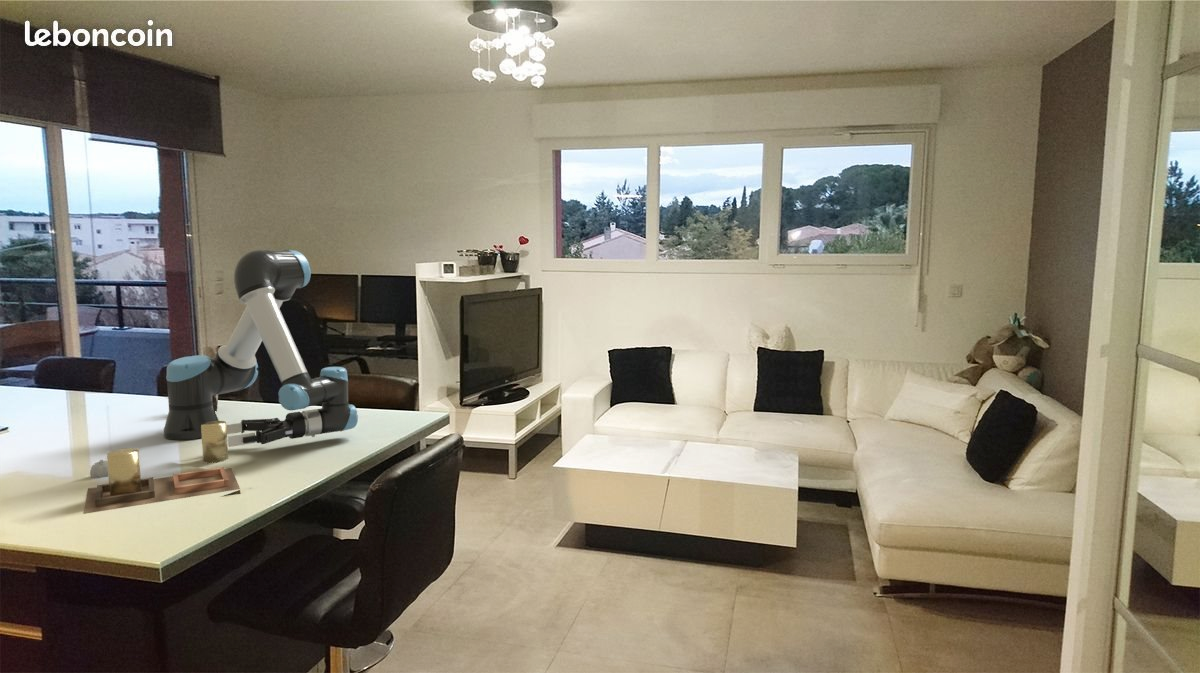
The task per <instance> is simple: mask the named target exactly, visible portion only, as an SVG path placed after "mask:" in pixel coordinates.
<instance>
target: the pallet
mask: <svg viewBox="0 0 1200 673" xmlns="http://www.w3.org/2000/svg"><path fill="white" fill-rule="evenodd" d="M141 490H142V492H136V493H129V494H123V495H116V496H110V488H109V483H105V484H103V483H102V484H97V485H96V486H95V487H89V488H87V491H86V497H85V504H84V507H83V515H84V514H92V513H99V512H103V511H110V510H117V509H123V508H130V507H134V506H142V505H148V504H154V503H160V502H166V501H173V500H178V499H179V500H180V499H185V498H193V497H198V496H204V495H212V494H216V493H217V494H218V493H223V492H230V493H227V494H224V495H221V496H220V497H228V496H234V495H240V494H241V488H240V485H239V483H238V480H237V478H236V476H235V473H234V471H233V469H232V467H228V468H225V467H224V466H223V467H216V468H209V469H201V470H196V471H195V470H194V471H188V472H182V473H175V474H172V476H165V477H160V478H154V476H152V477H145V478H141ZM235 490H236V491H235ZM231 491H232V492H231Z"/></svg>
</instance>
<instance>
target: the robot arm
mask: <svg viewBox="0 0 1200 673" xmlns="http://www.w3.org/2000/svg"><path fill="white" fill-rule="evenodd" d="M311 271H312V269H311V268H310V263H309V260H308V259H307V258H306V256H305V255H304V254H303V253H301V252H299V251H298V250H293V249H292V250H291V249H287V248H286V249H281V250H280V249H278V250H277V249H275V250H274V249H266V250H265V249H254V250H251V251H248V252H246V253H245V254H244V255H242V256H241V257H240V259H239V260H238V261H237V262H236V265H235V268H234V272H233V273H234V274H233V283H234V289H235V291H236V294H237V296H238V299H239V302H241V303H242V304H245V305H246V307H245V309H244V310H243V313H242V315H241V316H240V319H239V320H238V322H237V324H236V325H235V328H234V330H233V332H232V334H231V336H230V338H229V340H228V341H227V343H226V344H223V345H221V346H220V347H219V348H218V350H217V352H216V354H215V356H213V357H212V358H211V357H209V356H208V355H202V354H200V355H199V354H198V355H197V354H196V355H192V356H184V357H183V356H182V357H179V358H177V359H174V360H172V361H171V362H168V364H167V366H166V376H165V379H166V383H167V384H166V385H167V397H168V398H167V400H168V414H167V417H166V421H165V423H164V427H163V437H164V438H165V439H168V440H174V441H176V440H177V441H183V440H184V441H185V440H196V439H202V433H201V424H203V423H206V422H211V421H220V420H219V418H218V416H217V414H216V412H215V411H214V409H213V402H212V396H213V395H218V396H219V395H222V394H223V395H224V394H229V393H231V392H238V391H242V390H244V389H247V388H248V387H251V386H252V385H253V384H254V383H255V381H256V380H257V378H258V375H259V370H258V368H259V365H258V362H257V358H256V357H257V356H256V353H257V351H258V349H259V347H260V346H261V344H262V343H263V345H264V347H265V350H266V352H267V354H268V356H269V358H270V360H271V362H272V366H273V368H274V370H275V371H276V374H277V375H278V376H277V377H278V378H279V380H280V383H281V385H282V386H281V387H280V388H279V390H278V393H277V394H278V402H279V404H280V406H281V407H282V408H284V409H285V410H287V411H294V412H287V414H286V415H285V419H284V420H281V419H279V418H278V417H275V418H261V419H260V418H259V419H242V420H241V421H239V422H234V423H226V427H227V445H228V448H230V447H237V446H243V445H251V444H256V443H257V444H260V445H266V444H269V443H271V442H275V441H278V440H281V439H285V438H289V439H290V440H294V439H299V438H303V437H309V436H310V437H311V438H315V436H317V435H321V434H322V435H323V434H330V433H336V432H337V433H338V432H343V431H348V430H352V429H354V428H356V426H357V425H358V423H359V422H358V420H359V416H358V410H357V408H356V406H355V405H354V404H350V403H349V379H348V377H349V376H348V370H347V369H346V368H345V367H343V366H327V367H326V366H325V367H324V368H322V369H321V370H320V374H319V377H314V378H311V376H310V374H309V372H308V370H307V368H306V366H305V363H304V360H303V358H302V356H301V354H300V352H299V349H298V347H297V346H296V343H295V341H294V338H293V336H292V334H291V331H290V329H289V327H288V325H287V323H286V321H285V318H284V316H283V314H282V311H281V309H280V308H281V307H282V306H283V302H286V301H289V300H291V299H292V297H293V295H294V294H295V291H296V290H297V289H302V288H304V287H305V286H307V285H308V284H309V283H310V280H311V276H312V275H311V274H312V273H311ZM320 404H321V407H322V408H315V409H308V410H303V409H307V408H309V407H313V406H316V405H320ZM297 410H302V411H297ZM245 431H246V432H248V433H245ZM249 432H250V433H249ZM239 433H241V434H239ZM230 434H236V435H230ZM228 435H229V436H228Z"/></svg>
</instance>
